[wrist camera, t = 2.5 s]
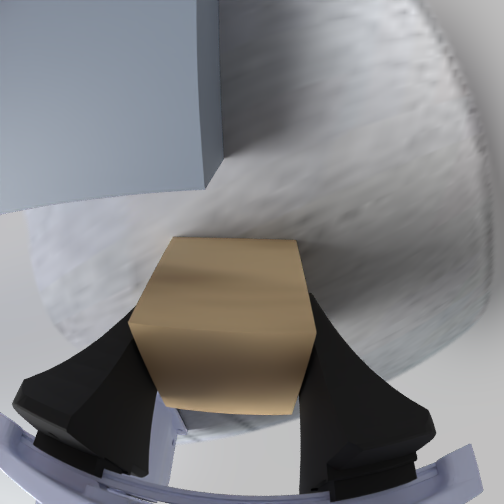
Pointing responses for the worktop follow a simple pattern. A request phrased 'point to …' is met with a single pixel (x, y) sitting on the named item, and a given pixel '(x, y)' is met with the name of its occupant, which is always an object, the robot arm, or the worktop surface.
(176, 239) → the wood block
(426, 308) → the worktop surface
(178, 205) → the worktop surface
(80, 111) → the slate block
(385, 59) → the worktop surface
